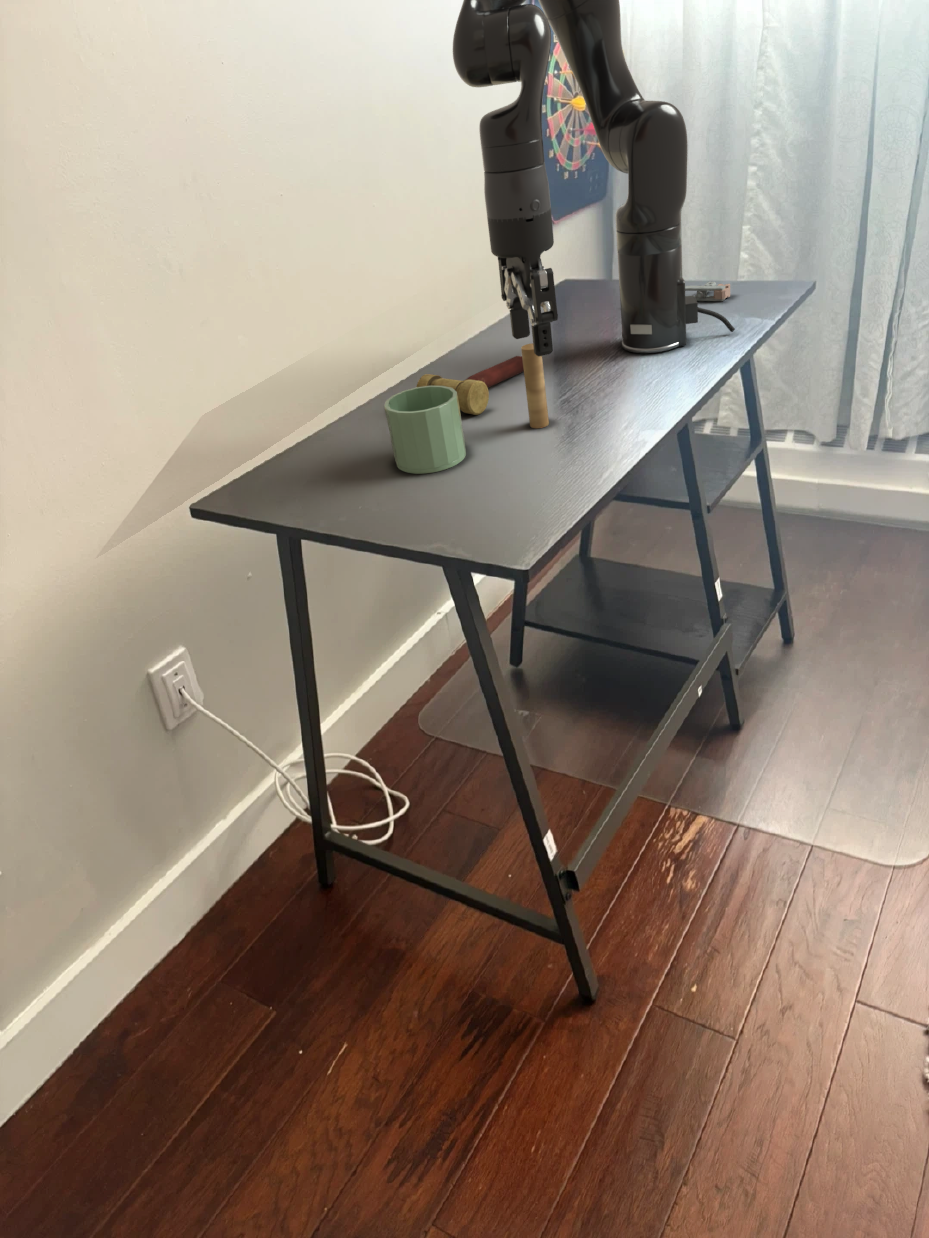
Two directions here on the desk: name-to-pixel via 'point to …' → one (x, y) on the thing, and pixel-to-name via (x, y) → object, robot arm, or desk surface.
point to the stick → (535, 387)
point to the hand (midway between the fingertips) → (532, 345)
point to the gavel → (476, 384)
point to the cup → (425, 429)
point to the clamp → (719, 290)
